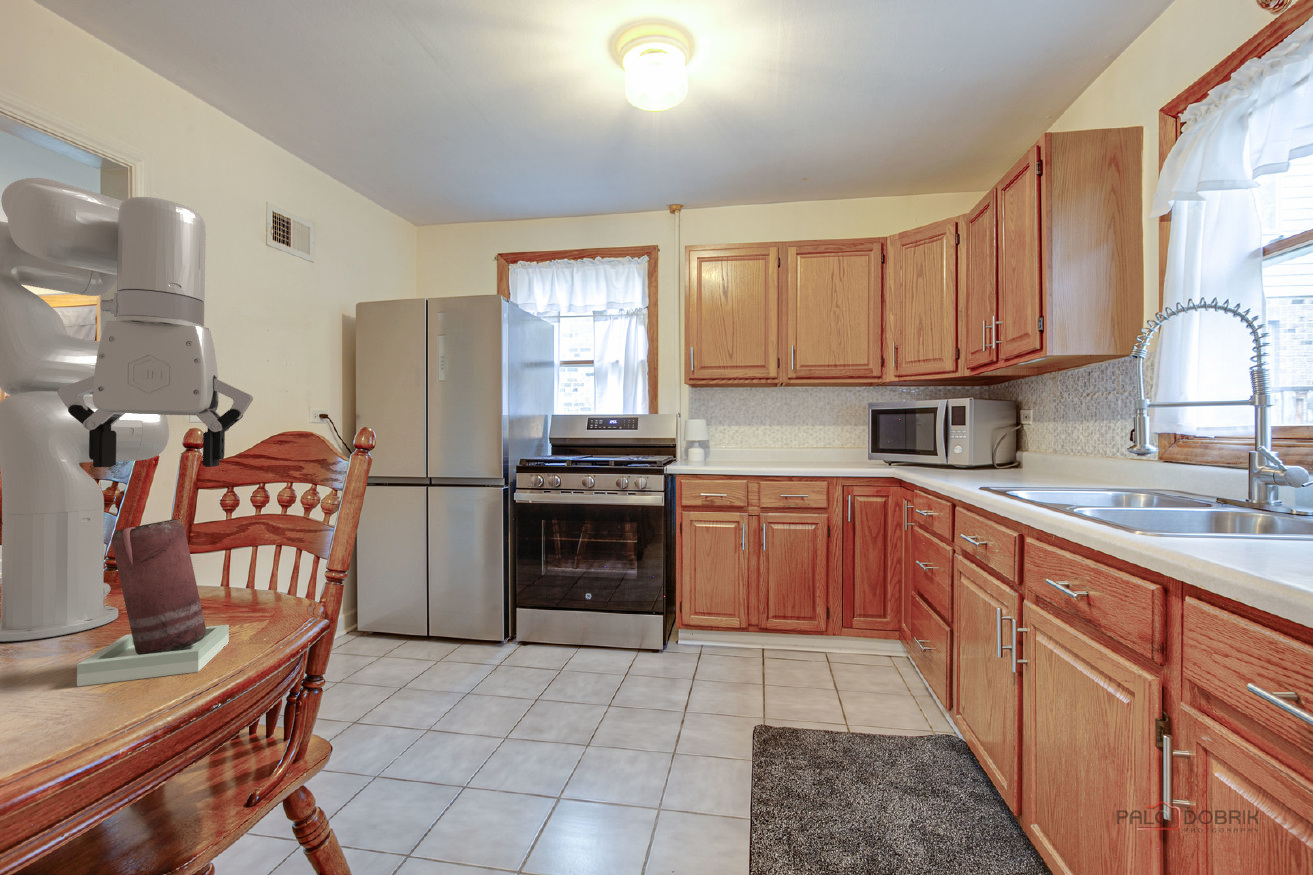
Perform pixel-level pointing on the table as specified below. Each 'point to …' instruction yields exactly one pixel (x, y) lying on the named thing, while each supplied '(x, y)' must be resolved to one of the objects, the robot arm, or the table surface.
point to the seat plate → (149, 659)
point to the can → (159, 586)
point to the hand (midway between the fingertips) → (159, 466)
